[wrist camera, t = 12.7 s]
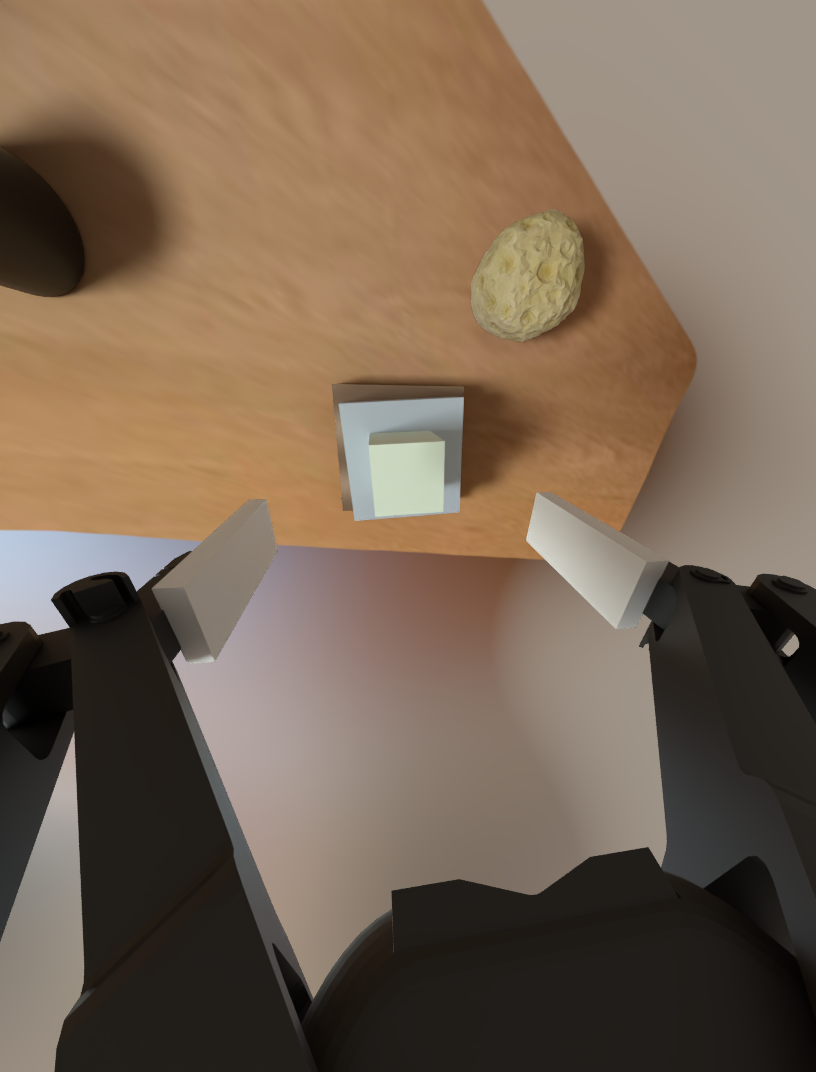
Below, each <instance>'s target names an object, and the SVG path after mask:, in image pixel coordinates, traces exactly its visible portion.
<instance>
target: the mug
mask: <svg viewBox="0 0 816 1072" xmlns="http://www.w3.org/2000/svg"><path fill="white" fill-rule="evenodd" d="M83 268H84V251H83V245H82V241H81V238H80V234H79V232H78V229H77V227H76V224H75V222H74V220H73V218H72V216H71V215H70V213H69V211H68V210H67V208H66V206H65V205H64V203H63V202H62V201H61V199H60V198H59V197H58V195H57V194H56V193H55V192H54V190H53V189H52V188H51V187H50V185H49V184H48V183H47V182H46V181H45V180H44V179H43V178H42V177H41V176H40V175H39V174H38V173H36V172H35V171H34V170H33V169H32V168H31V167H30V166H28V165H27V164H25V163H24V162H22V161H21V160H20V159H18V158H17V157H15V156H13V155H12V154H10V153H9V152H7V151H6V150H4V149H3V148H1V147H0V286H4V287H7V288H11V289H15V290H18V291H22V292H25V293H29V294H32V295H36V296H43V297H53V296H59V295H62V294H65V293H67V292H69V291H70V290H72V289H73V288H74V287H75V286H76V285H77V283H78V282H79V280H80V278H81V276H82V274H83Z"/></svg>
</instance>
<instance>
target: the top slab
mask: <svg viewBox="0 0 816 1072" xmlns="http://www.w3.org/2000/svg"><path fill="white" fill-rule="evenodd" d="M463 408H464V397H454V396H453V397H434V398H414V399H395V400H375V401H356V402H342V403H339V411H340V418H341V425H342V432H343V439H344V447H345V454H346V461H347V468H348V476H349V483H350V490H351V497H352V505H353V512H354V519H355V521H358V520H371V519H383V518H395V517H407V516H420V515H432V514H444V513H456V512H459V508H460V483H461V458H462V433H463ZM428 430H430V431H431V432H433V433H434V434H435V435H437V436H438V437H440V438H441V439H442V440H444V441H445V458H444V505H443V512H434V513H421V514H407V515H394V516H380V517H375V510H374V499H373V488H372V477H371V467H370V456H369V434H370V433H388V432H408V431H428Z"/></svg>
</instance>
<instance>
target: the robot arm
mask: <svg viewBox="0 0 816 1072" xmlns="http://www.w3.org/2000/svg"><path fill="white" fill-rule="evenodd" d="M526 541H527V542H528V543H529V544H530V545H531V546H532V547H533V548H534V549H535V550H536V551H537V552H538V553H539V554H540V555H541V556H542V557H543V558H544V559H545V560H546V561H547V562H548V563H549V564H550V565H551V566H552V567H553V568H554V569H555V570H557V572H558V573H559V574H560V575H562V576H563V577H564V578H565V579H566V580H567V581H568V582H569V583H570V584H571V585H572V586H573V587H574V588H575V589H576V590H577V591H578V592H579V593H580V594H581V595H582V596H583V597H584V598H585V599H586V600H587V601H588V602H589V603H590V604H591V605H592V606H593V607H594V608H595V609H596V610H597V611H598V612H599V613H600V614H601V615H602V616H603V617H604V618H605V619H606V620H607V621H608V622H609V623H610V624H611V625H612V626H613V627H614V628H615V629H626V628H636V627H637V625H638V623H639V620H640V619H641V617H642V615H643V614H644V615H646V616H647V617H648V618H649V619H651V620H652V621H651V623H650V625H649V627H648V629H647V631H646V633H645V635H644V637H643V639H642V641H641V643H640V645H639V647H642V648H643V647H644V645H645V644H648V643H649V652H650V662H651V672H652V684H653V694H654V705H655V714H656V726H657V736H658V747H659V756H660V757H659V758H660V768H661V779H662V788H663V800H664V810H665V821H666V831H667V846H666V852H665V856H664V859H663V863H662V866H661V867H660V866H659V864H658V863H657V861H656V859H655V857H654V856H653V854H652V853H651V851H650V849H649V848H648V847H647V848H640V849H635V850H629V851H623V852H617V853H611V854H606V855H599V856H593V857H589V858H588V859H587V860H585V861H584V862H583V863H581V864H580V865H579V866H577V867H576V868H574V869H573V870H572V871H570V872H569V873H567V874H566V875H565V876H563V877H562V878H561V879H559V880H558V881H556V882H555V883H553V884H552V885H551V886H549V887H548V888H547V889H545V890H544V891H542V892H541V893H539V894H537V895H527V894H522V893H518V892H513V891H509V890H504V889H500V888H496V887H491V886H487V885H482V884H478V883H473V882H469V881H465V880H460V879H458V880H452V881H446V882H440V883H435V884H429V885H423V886H417V887H411V888H405V889H399V890H393V891H392V910H390V911H388V912H387V913H385V914H384V915H382V916H381V917H379V918H378V919H376V920H375V921H374V922H373V923H372V924H371V925H369V926H368V927H367V928H366V929H365V930H364V931H363V932H361V933H360V934H359V935H358V936H357V938H356V939H355V940H354V941H353V942H352V943H351V944H350V946H349V947H348V948H347V949H346V950H345V951H344V953H343V954H342V955H341V957H340V958H339V959H338V961H337V962H336V964H335V965H334V967H333V968H332V969H331V971H330V972H329V974H328V975H327V977H326V978H325V980H324V982H323V984H322V985H321V987H320V989H319V991H318V992H317V994H316V996H315V998H314V999H313V997H312V994H311V992H310V990H309V987H308V985H307V982H306V980H305V977H304V975H303V973H302V970H301V968H300V966H299V963H298V961H297V958H296V956H295V954H294V951H293V949H292V947H291V944H290V942H289V940H288V938H287V935H286V933H285V931H284V929H283V927H282V925H281V923H280V921H279V919H278V916H277V914H276V912H275V910H274V907H273V905H272V903H271V900H270V898H269V895H268V893H267V890H266V888H265V886H264V883H263V881H262V878H261V876H260V873H259V871H258V868H257V866H256V863H255V861H254V859H253V856H252V854H251V851H250V849H249V846H248V844H247V841H246V839H245V837H244V834H243V832H242V829H241V827H240V825H239V822H238V819H237V817H236V814H235V812H234V810H233V807H232V805H231V802H230V800H229V798H228V795H227V792H226V790H225V787H224V785H223V783H222V780H221V778H220V775H219V773H218V770H217V768H216V765H215V763H214V761H213V758H212V756H211V753H210V751H209V748H208V746H207V743H206V741H205V739H204V736H203V734H202V731H201V729H200V726H199V724H198V721H197V719H196V716H195V714H194V712H193V709H192V707H191V704H190V702H189V699H188V697H187V695H186V693H185V690H184V687H183V685H182V682H181V680H180V677H179V675H178V672H177V670H176V668H175V666H174V664H173V662H172V660H173V659H174V658H175V657H176V655H177V654H178V653H179V651H180V650H181V651H182V653H183V655H184V657H185V660H186V662H187V664H190V663H203V662H215V660H216V659H217V657H218V655H219V653H220V652H221V650H222V648H223V646H224V645H225V643H226V641H227V639H228V638H229V636H230V634H231V632H232V631H233V629H234V627H235V625H236V624H237V622H238V620H239V618H240V617H241V615H242V613H243V611H244V610H245V608H246V606H247V604H248V603H249V601H250V599H251V597H252V596H253V594H254V592H255V590H256V588H257V587H258V585H259V583H260V581H261V580H262V578H263V576H264V574H265V573H266V571H267V569H268V568H269V566H270V564H271V562H272V561H273V559H274V557H275V555H276V553H277V552H278V550H277V546H276V541H275V536H274V532H273V527H272V523H271V518H270V514H269V509H268V505H267V500H266V499H255V500H248V501H247V502H246V503H245V504H244V505H242V506H241V507H240V508H239V509H238V510H237V511H236V512H235V513H234V514H233V515H232V516H230V517H229V518H228V519H227V520H226V521H225V522H224V523H223V524H222V525H221V526H219V527H218V528H217V529H216V530H215V531H214V532H213V533H212V534H211V535H210V536H209V537H207V538H206V539H205V540H204V541H203V542H202V543H201V544H200V545H199V546H198V547H197V548H195V549H194V550H193V551H189V552H186V553H185V554H183V555H181V556H179V557H177V558H175V559H174V560H172V561H171V562H170V563H169V564H168V565H167V566H165V567H164V569H163V570H161V571H160V572H159V573H157V574H156V577H153V578H152V579H151V580H149V581H148V582H147V583H146V584H145V585H144V586H143V587H141V588H140V589H139V590H138V591H137V592H136V590H135V588H134V586H133V584H132V582H131V580H130V578H129V576H128V575H127V574H125V573H123V572H107V573H101V574H97V575H93V576H89V577H86V578H83V579H81V580H78V581H75V582H73V583H71V584H69V585H67V586H65V587H63V588H62V589H61V590H59V591H58V592H57V593H55V594H54V596H53V598H52V599H51V601H52V602H53V604H54V605H55V607H56V608H57V610H58V611H59V612H60V614H61V615H62V617H63V618H64V620H65V621H66V623H67V624H68V625H69V627H70V628H67V629H63V630H59V631H54V632H50V633H45V634H41V635H37V633H36V632H35V631H34V629H33V628H32V627H31V625H29V624H27V623H26V622H10V623H5V624H0V941H1V937H2V935H3V932H4V929H5V926H6V923H7V921H8V918H9V915H10V912H11V909H12V906H13V904H14V901H15V898H16V895H17V892H18V889H19V886H20V884H21V881H22V878H23V875H24V872H25V869H26V867H27V864H28V861H29V858H30V855H31V852H32V850H33V847H34V844H35V841H36V838H37V835H38V832H39V829H40V827H41V824H42V821H43V818H44V815H45V812H46V809H47V806H48V804H49V801H50V798H51V795H52V792H53V790H54V787H55V784H56V781H57V778H58V776H59V773H60V770H61V767H62V764H63V761H64V758H65V756H66V753H67V750H68V747H69V744H70V741H71V738H72V735H73V733H75V758H76V779H77V780H76V781H77V803H78V827H79V851H80V874H81V897H82V920H83V944H84V984H83V988H82V992H81V996H80V998H79V999H78V1001H77V1002H76V1004H75V1005H74V1007H73V1008H72V1010H71V1011H70V1013H69V1014H68V1016H67V1017H66V1018H65V1020H64V1023H63V1027H62V1030H61V1034H60V1038H59V1041H58V1045H57V1049H56V1061H55V1072H816V589H814V588H812V587H811V586H809V585H806V584H804V583H802V582H801V581H799V580H797V579H794V578H790V577H787V576H777V575H772V574H760V575H758V576H757V577H756V579H755V581H754V582H753V583H752V585H751V586H750V587H748V586H739V585H736V584H735V583H734V582H733V581H732V580H731V579H729V578H728V577H727V576H724V575H722V574H720V573H718V572H716V571H714V570H711V569H708V568H703V567H699V566H693V565H684V566H681V567H677V566H676V565H674V564H672V563H671V562H669V560H667V559H665V558H664V557H662V556H660V555H658V554H656V553H655V552H653V551H652V550H650V549H648V548H646V547H645V546H643V545H641V544H639V543H638V542H636V541H634V540H632V539H631V538H629V537H627V536H626V535H624V534H622V533H621V532H619V531H617V530H615V529H614V528H612V527H610V526H608V525H607V524H605V523H603V522H602V521H600V520H598V519H596V518H595V517H593V516H591V515H590V514H588V513H586V512H584V511H583V510H581V509H579V508H577V507H576V506H574V505H572V504H571V503H569V502H567V501H565V500H564V499H562V498H560V497H558V496H557V495H555V494H553V493H552V492H537V493H536V498H535V502H534V507H533V511H532V516H531V520H530V525H529V529H528V534H527V538H526ZM794 634H795V635H796V636H797V638H798V640H799V648H798V649H797V650H796V651H795V652H794V654H792V655H791V656H790V657H788V656H787V655H786V654H785V653H784V652H783V651H782V648H783V647H784V646H785V645H786V644H787V643H788V641H789V640H790V639H791V638H792V636H793V635H794ZM392 917H393V927H392ZM393 943H394V952H393Z"/></svg>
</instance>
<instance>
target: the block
mask: <svg viewBox="0 0 816 1072" xmlns="http://www.w3.org/2000/svg"><path fill="white" fill-rule="evenodd" d="M369 456H370V467H371V477H372V488H373V499H374V510H375V517H380V516H394V515H407V514H421V513H434V512H443V505H444V458H445V441H444V440H442V439H441V438H440V437H438V436H437V435H435V434H434V433H433V432H431V431H430V430H428V431H408V432H388V433H370V434H369Z"/></svg>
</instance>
